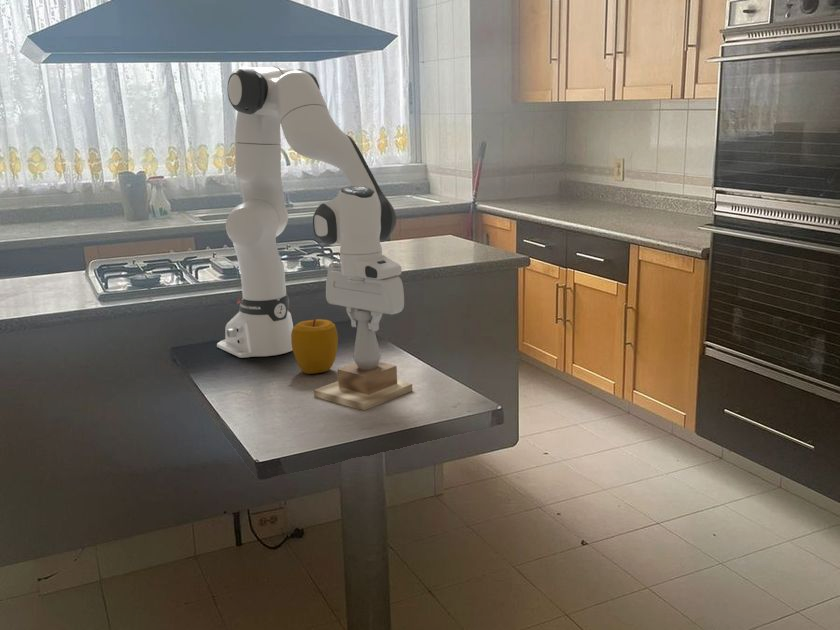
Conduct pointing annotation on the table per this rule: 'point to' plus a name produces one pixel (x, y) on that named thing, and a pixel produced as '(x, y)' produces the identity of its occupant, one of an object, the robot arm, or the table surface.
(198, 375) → the table surface
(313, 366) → the apple
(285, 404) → the table surface
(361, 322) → the salt shaker
